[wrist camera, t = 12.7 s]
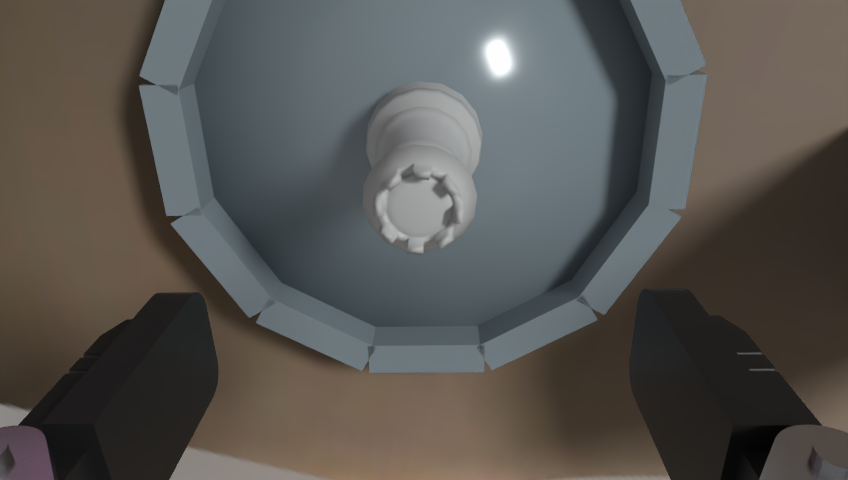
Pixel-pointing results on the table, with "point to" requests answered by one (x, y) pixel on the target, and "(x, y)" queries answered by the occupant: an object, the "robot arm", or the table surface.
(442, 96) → the rook chess piece
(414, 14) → the round tray
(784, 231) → the table surface
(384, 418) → the table surface
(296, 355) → the table surface
